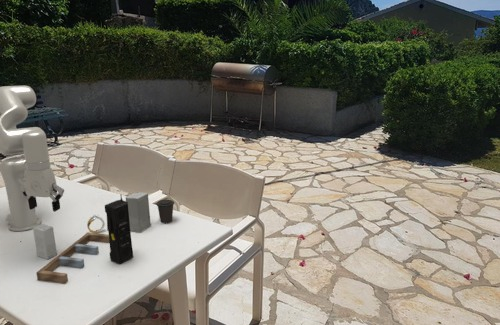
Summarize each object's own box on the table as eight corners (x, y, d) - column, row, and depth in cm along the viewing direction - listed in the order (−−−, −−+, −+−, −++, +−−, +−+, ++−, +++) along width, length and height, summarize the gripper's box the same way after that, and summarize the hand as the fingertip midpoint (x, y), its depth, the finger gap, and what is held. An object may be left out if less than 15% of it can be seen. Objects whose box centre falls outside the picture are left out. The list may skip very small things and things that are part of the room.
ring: (88, 235, 158) (86, 218, 156) (87, 232, 161) (85, 215, 159) (105, 232, 162) (104, 215, 159) (104, 229, 164) (103, 212, 162)
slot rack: (37, 280, 127) (36, 272, 126) (88, 238, 156) (87, 232, 155) (65, 283, 126) (64, 275, 125) (111, 241, 154) (110, 234, 153)
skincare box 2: (140, 233, 161) (138, 199, 157) (127, 230, 164) (124, 197, 159) (151, 225, 169) (149, 192, 165) (138, 222, 171) (136, 190, 167)
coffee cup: (156, 218, 175) (154, 199, 173) (173, 216, 179) (172, 196, 176) (159, 226, 168) (157, 205, 166) (176, 223, 171) (175, 203, 169)
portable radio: (118, 266, 136) (111, 203, 129) (107, 261, 139) (100, 199, 132) (134, 256, 143) (129, 196, 136) (124, 252, 146) (118, 193, 139)
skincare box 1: (57, 254, 143) (53, 226, 140) (47, 260, 140) (43, 231, 136) (46, 251, 146) (42, 223, 142) (36, 256, 142) (32, 227, 139)
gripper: (9, 166, 131) (16, 211, 136) (52, 169, 128) (59, 215, 133) (24, 161, 138) (31, 203, 143) (66, 163, 136) (72, 207, 140)
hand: (45, 209), depth 138 cm, fingers open, 9 cm apart
